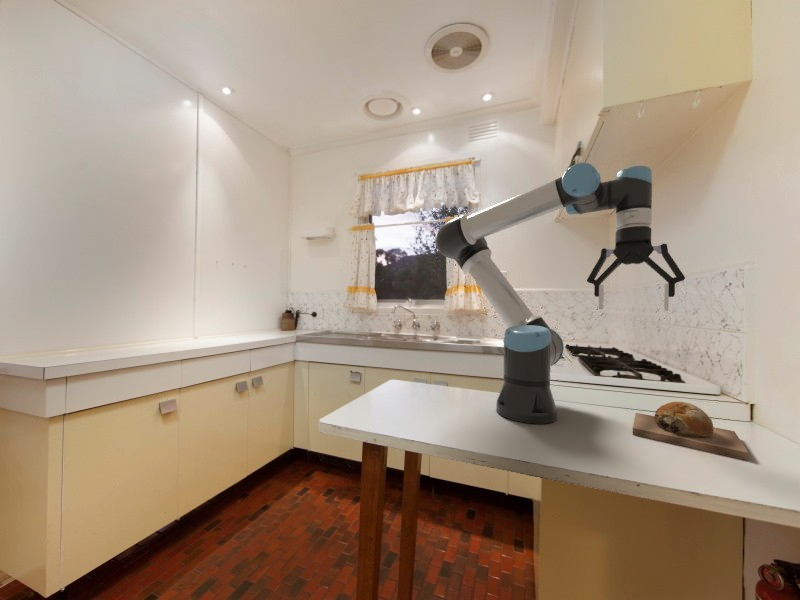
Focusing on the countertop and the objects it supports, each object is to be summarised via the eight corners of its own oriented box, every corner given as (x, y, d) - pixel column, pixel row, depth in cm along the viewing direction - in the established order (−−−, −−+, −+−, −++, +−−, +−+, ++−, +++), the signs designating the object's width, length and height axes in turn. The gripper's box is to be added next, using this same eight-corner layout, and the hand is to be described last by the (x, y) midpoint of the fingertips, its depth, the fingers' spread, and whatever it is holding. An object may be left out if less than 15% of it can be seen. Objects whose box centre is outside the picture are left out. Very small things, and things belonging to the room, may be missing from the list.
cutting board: (632, 434, 72) (632, 427, 72) (635, 418, 83) (635, 412, 83) (748, 460, 61) (748, 452, 61) (734, 437, 71) (734, 431, 71)
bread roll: (716, 457, 66) (735, 424, 66) (666, 431, 68) (684, 399, 67) (683, 437, 76) (700, 409, 75) (640, 416, 78) (656, 387, 77)
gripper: (576, 231, 87) (574, 308, 87) (700, 217, 71) (699, 311, 71) (581, 236, 93) (580, 308, 92) (697, 224, 77) (696, 311, 76)
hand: (631, 309), depth 82 cm, fingers open, 13 cm apart
